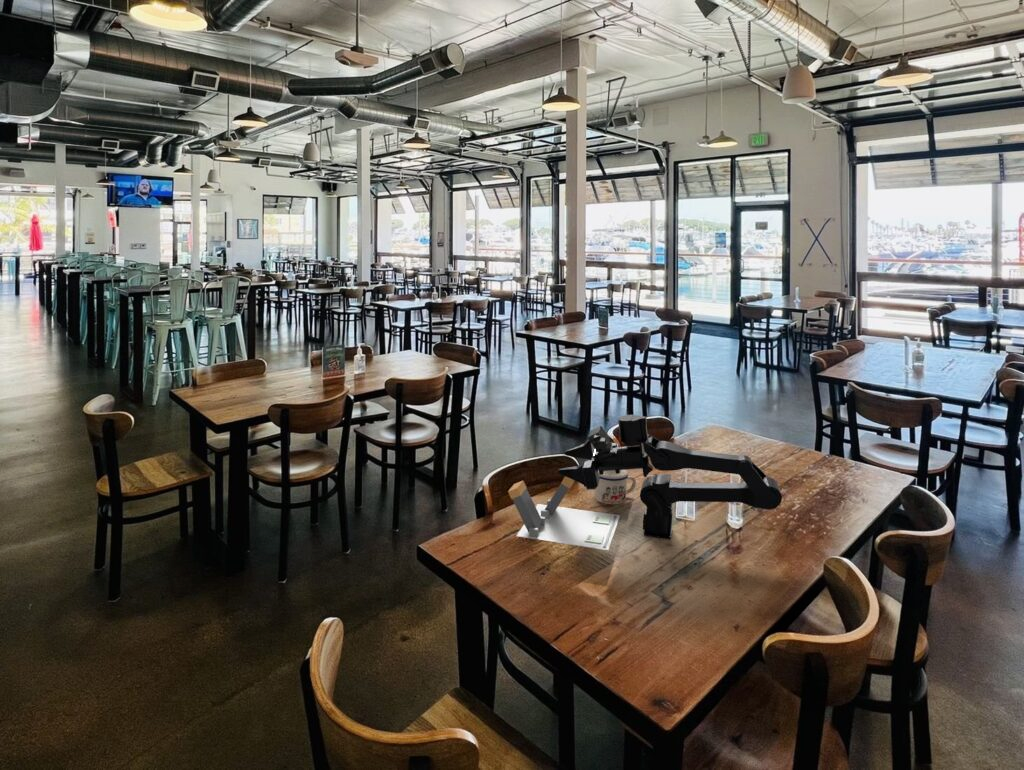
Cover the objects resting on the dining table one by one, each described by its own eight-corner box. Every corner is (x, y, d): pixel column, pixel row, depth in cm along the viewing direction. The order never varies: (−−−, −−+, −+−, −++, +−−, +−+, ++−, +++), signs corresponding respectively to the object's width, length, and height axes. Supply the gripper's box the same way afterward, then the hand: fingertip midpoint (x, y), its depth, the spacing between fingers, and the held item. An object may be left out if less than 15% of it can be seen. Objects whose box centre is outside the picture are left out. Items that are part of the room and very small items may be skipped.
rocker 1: (542, 520, 158) (523, 480, 158) (537, 529, 154) (517, 488, 153) (533, 524, 159) (514, 483, 159) (528, 532, 154) (507, 491, 154)
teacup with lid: (600, 511, 172) (602, 469, 169) (588, 497, 181) (590, 458, 178) (641, 507, 175) (644, 466, 172) (627, 494, 184) (629, 455, 181)
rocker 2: (556, 508, 169) (577, 475, 165) (551, 516, 164) (573, 482, 160) (548, 502, 169) (569, 469, 165) (543, 510, 164) (564, 476, 160)
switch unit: (619, 520, 166) (620, 508, 165) (607, 556, 148) (608, 542, 147) (537, 509, 172) (537, 496, 172) (516, 541, 154) (516, 528, 153)
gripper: (621, 412, 164) (562, 417, 169) (613, 448, 148) (548, 452, 152) (628, 450, 168) (570, 454, 173) (621, 489, 152) (557, 492, 156)
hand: (561, 462), depth 163 cm, fingers open, 9 cm apart
